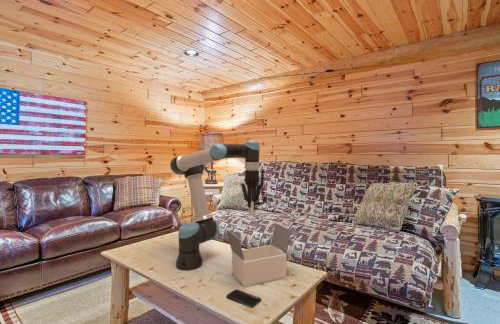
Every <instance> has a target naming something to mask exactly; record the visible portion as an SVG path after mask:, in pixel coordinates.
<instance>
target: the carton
mask: <svg viewBox="0 0 500 324" xmlns="http://www.w3.org/2000/svg"><path fill="white" fill-rule="evenodd" d="M242 252H243V256H244V260H245V261H243V260H242V259H241V258H240V257H238V256H237V255H236V254H235V253H234V252H233V251H232V250H231V270H232V271H231V274H232V275H233V276H234V277H235V279H236V280H237V281H238V282H239V284H241V285H242V286H243V288H247V287H252V286H256V285H259V284H264V283H267V282H274V281H276V280H278V281H279V280H281V279H286V278H287V253H286V252H284V251H282V250H281V249H279V248H278V247H276V246H274V245H273V244H269V245H268V244H267V245H263V246H262V245H261V246H257V247H251V248H246V249H242ZM285 277H286V278H285Z"/></svg>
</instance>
